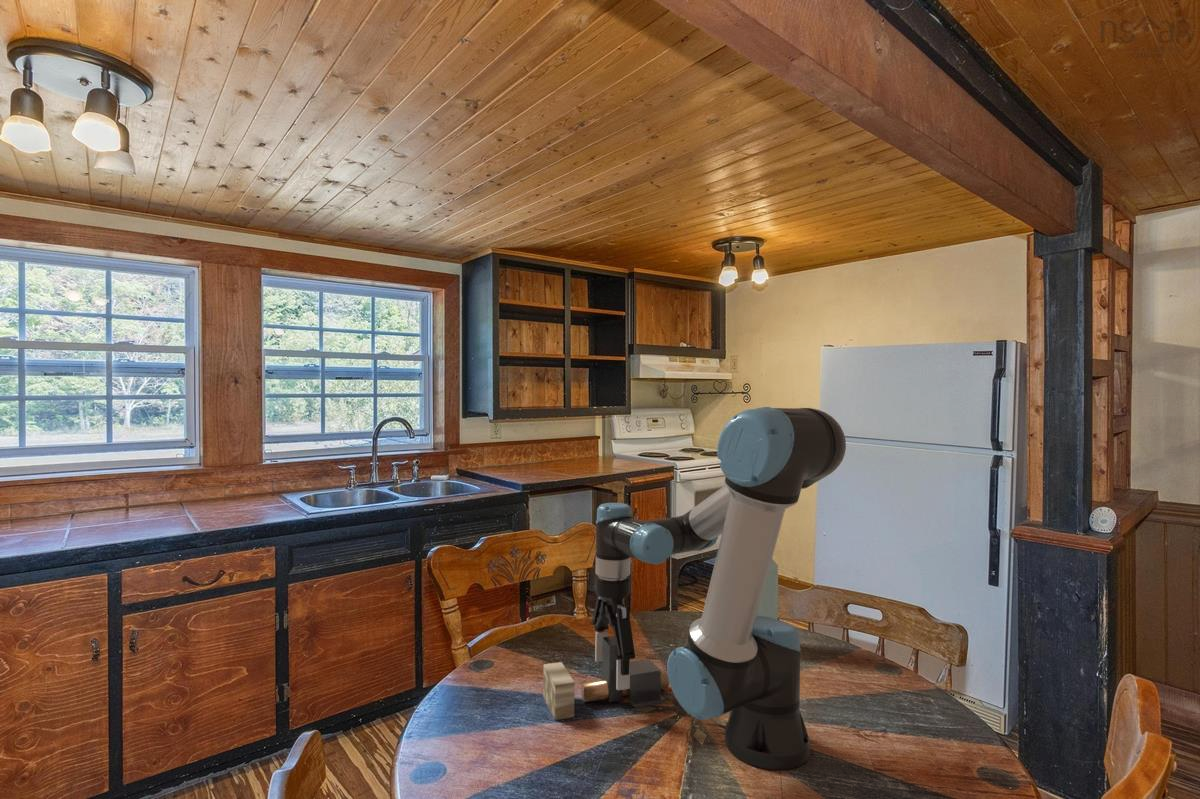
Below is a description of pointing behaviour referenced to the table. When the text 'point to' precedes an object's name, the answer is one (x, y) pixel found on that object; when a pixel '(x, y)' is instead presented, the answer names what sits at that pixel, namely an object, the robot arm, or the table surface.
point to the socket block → (558, 690)
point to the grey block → (645, 683)
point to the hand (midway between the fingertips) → (611, 674)
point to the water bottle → (770, 594)
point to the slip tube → (610, 677)
